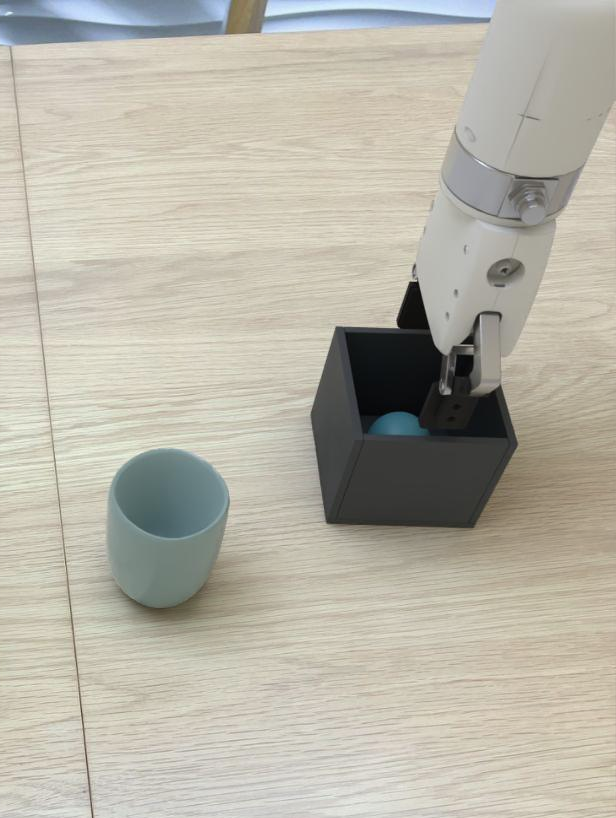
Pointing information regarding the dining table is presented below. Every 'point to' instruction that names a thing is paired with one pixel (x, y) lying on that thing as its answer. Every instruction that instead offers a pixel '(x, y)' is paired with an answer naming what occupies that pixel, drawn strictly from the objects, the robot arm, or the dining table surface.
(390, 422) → the teal ball
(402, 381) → the bin
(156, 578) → the cup
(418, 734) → the dining table surface
